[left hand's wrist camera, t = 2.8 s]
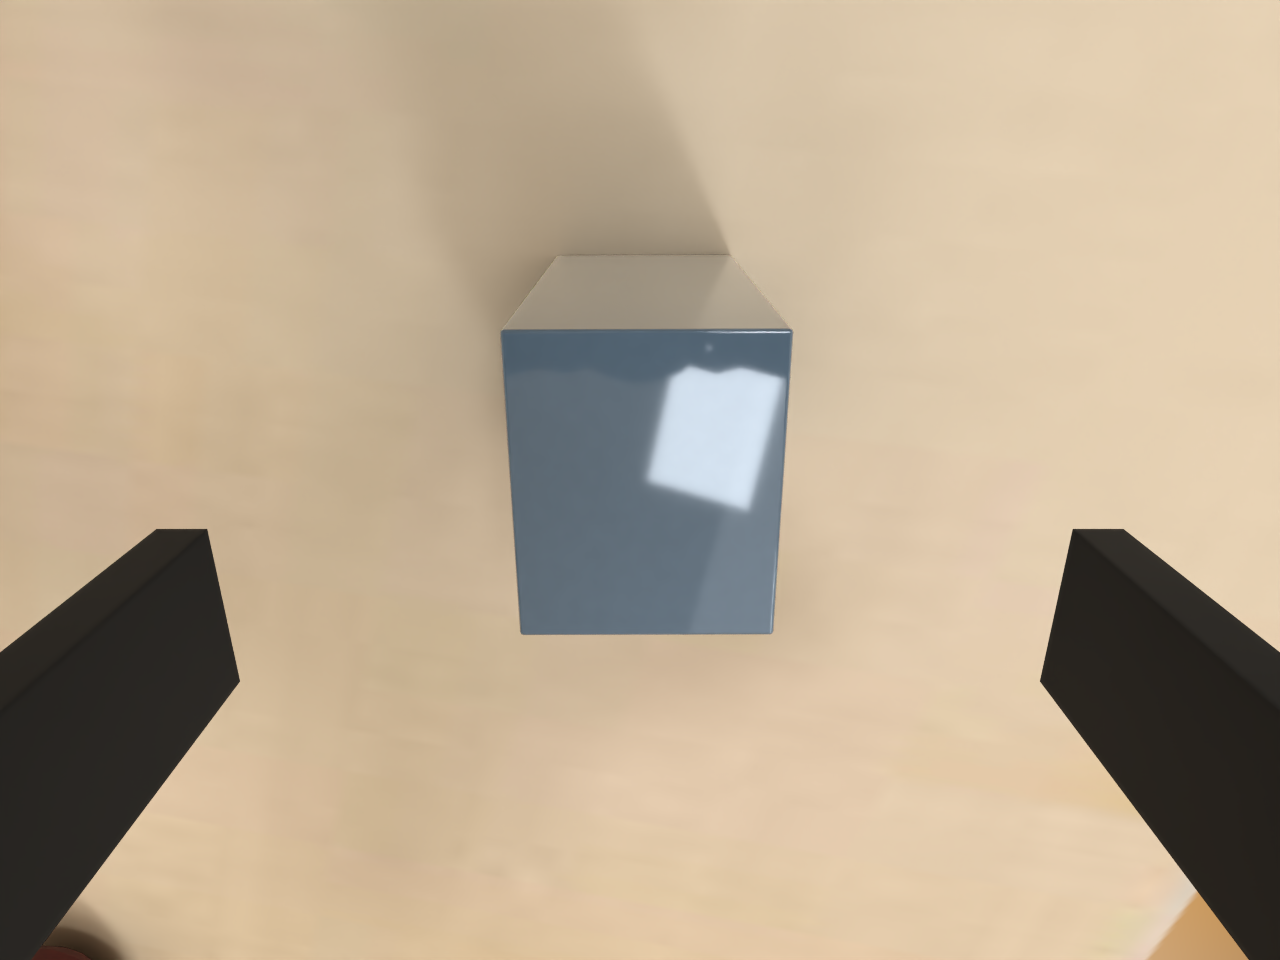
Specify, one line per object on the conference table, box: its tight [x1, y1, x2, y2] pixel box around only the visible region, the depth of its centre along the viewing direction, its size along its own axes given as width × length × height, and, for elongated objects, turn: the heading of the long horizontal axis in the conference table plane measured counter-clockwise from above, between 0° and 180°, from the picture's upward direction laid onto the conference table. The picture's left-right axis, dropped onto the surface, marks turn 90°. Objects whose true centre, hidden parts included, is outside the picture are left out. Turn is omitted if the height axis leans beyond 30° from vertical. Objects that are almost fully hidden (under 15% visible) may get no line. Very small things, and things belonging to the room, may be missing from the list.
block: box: [500, 255, 793, 635], centre depth 22 cm, size 7×6×11 cm
